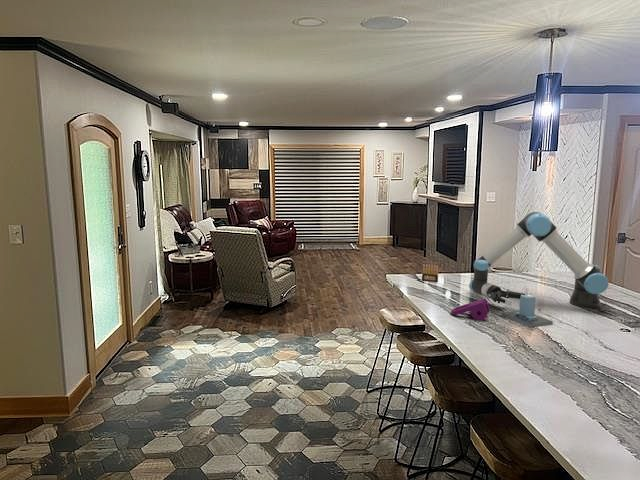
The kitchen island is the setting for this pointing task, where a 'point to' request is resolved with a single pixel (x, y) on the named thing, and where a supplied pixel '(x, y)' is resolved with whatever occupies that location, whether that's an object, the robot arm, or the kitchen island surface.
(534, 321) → the plate
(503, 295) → the robot arm
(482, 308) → the mounting bracket
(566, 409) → the kitchen island surface
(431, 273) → the ammunition clip
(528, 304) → the block
